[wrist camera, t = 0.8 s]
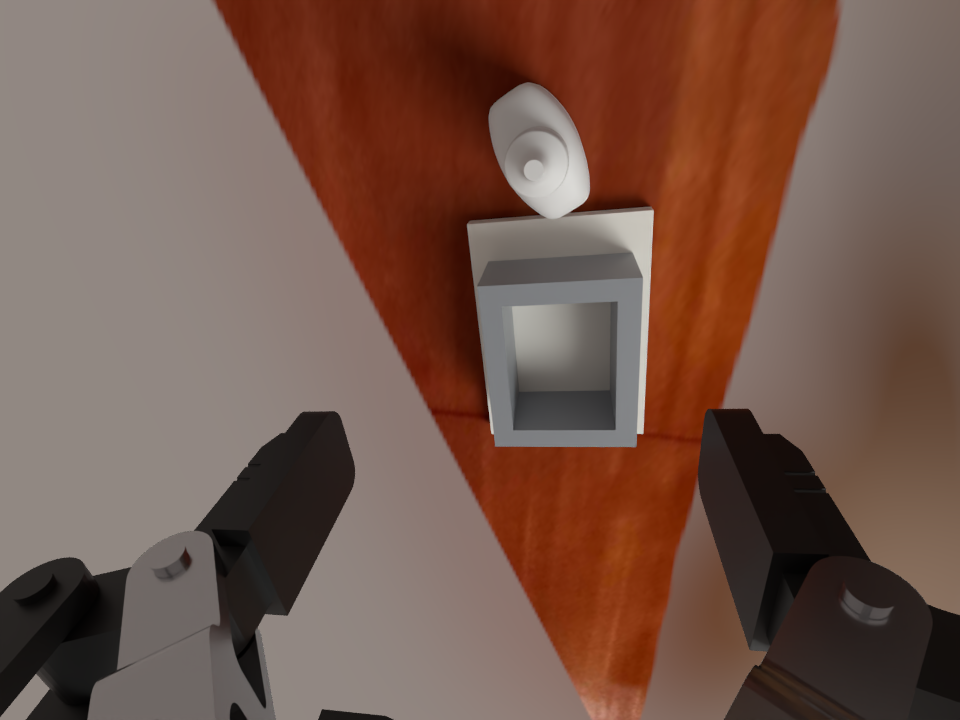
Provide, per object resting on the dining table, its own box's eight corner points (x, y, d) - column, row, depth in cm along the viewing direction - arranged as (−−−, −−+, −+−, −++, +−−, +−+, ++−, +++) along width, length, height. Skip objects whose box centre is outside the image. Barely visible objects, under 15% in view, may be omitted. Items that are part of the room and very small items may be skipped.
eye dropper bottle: (508, 195, 30) (477, 252, 19) (503, 86, 27) (464, 82, 17) (584, 191, 29) (595, 248, 18) (587, 79, 26) (602, 71, 16)
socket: (469, 220, 31) (451, 244, 26) (650, 206, 29) (668, 229, 24) (493, 425, 37) (482, 475, 33) (641, 425, 36) (653, 477, 31)
